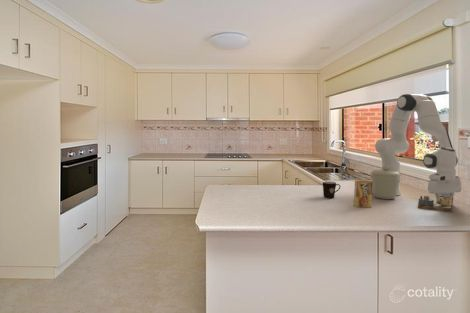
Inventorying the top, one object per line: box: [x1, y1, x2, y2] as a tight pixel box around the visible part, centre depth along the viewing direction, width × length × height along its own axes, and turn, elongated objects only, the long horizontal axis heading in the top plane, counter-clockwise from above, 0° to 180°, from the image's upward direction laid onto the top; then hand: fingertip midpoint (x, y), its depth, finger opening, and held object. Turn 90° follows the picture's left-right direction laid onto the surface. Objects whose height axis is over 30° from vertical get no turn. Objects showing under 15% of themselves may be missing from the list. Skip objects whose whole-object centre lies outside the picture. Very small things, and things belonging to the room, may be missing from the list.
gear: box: [418, 195, 435, 206], centre depth 176 cm, size 7×7×5 cm
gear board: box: [417, 195, 453, 213], centre depth 174 cm, size 16×10×6 cm, turn 60°
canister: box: [370, 166, 402, 200], centre depth 199 cm, size 18×18×21 cm
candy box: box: [353, 179, 373, 208], centre depth 176 cm, size 9×4×15 cm, turn 86°
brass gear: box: [435, 197, 452, 206], centre depth 172 cm, size 7×7×3 cm
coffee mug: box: [322, 180, 341, 200], centre depth 198 cm, size 12×9×10 cm
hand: (444, 200), depth 172 cm, fingers closed on brass gear, 6 cm apart
